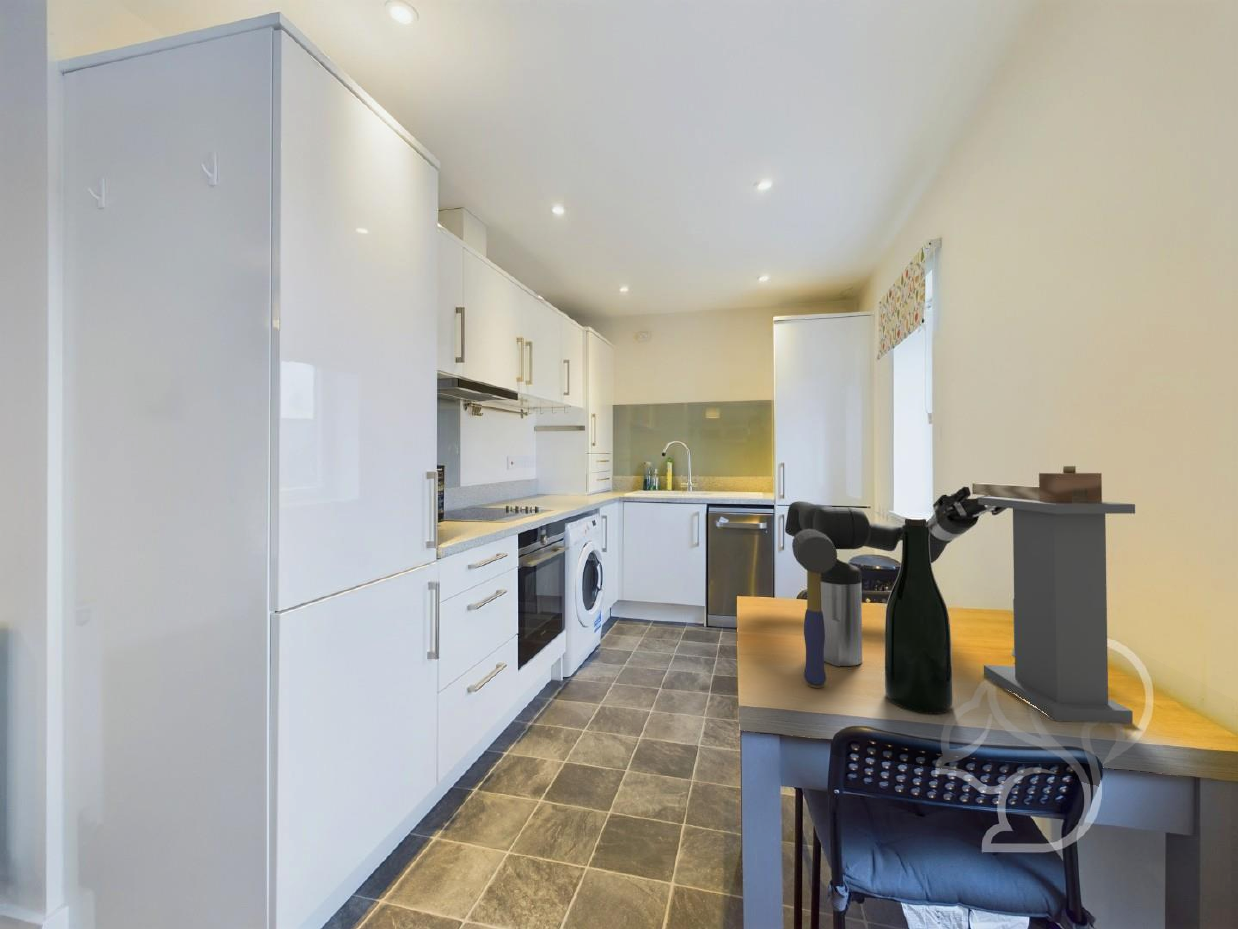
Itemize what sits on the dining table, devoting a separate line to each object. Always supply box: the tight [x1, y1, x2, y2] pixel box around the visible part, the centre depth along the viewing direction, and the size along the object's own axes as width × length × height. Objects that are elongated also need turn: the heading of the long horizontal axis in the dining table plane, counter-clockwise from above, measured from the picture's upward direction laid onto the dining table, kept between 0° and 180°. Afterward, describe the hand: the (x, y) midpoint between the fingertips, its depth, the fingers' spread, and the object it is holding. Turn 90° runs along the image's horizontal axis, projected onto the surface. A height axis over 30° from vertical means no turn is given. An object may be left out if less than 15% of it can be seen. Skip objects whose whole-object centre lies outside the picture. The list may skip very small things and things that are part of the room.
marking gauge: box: [971, 465, 1103, 503], centre depth 97 cm, size 27×7×6 cm, turn 175°
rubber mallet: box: [791, 529, 838, 689], centre depth 96 cm, size 12×8×30 cm, turn 166°
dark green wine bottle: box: [884, 517, 954, 714], centre depth 89 cm, size 10×10×33 cm
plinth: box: [977, 496, 1136, 724], centre depth 91 cm, size 20×12×36 cm, turn 175°
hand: (988, 490), depth 108 cm, fingers open, 8 cm apart
